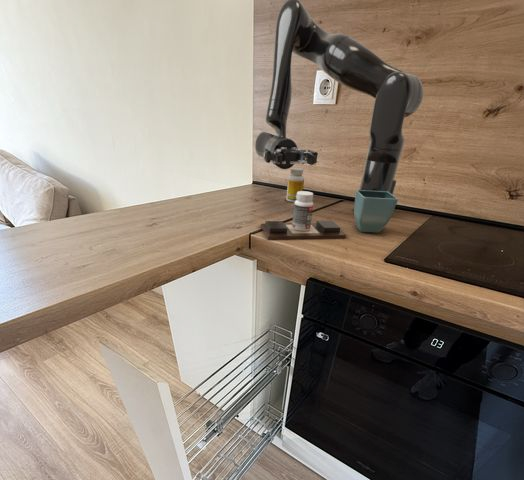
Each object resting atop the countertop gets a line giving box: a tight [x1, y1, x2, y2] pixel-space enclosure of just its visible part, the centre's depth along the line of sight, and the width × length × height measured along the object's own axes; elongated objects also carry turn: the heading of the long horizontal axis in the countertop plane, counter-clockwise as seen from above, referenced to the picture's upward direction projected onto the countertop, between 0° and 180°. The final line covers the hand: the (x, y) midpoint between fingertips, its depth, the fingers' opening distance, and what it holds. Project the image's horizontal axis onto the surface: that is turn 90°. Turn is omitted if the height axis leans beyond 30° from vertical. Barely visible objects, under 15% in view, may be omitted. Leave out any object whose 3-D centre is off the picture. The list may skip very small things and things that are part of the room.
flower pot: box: [353, 189, 399, 234], centre depth 80 cm, size 9×9×9 cm
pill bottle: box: [291, 190, 314, 231], centre depth 76 cm, size 5×5×8 cm
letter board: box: [260, 220, 347, 240], centre depth 78 cm, size 20×10×2 cm, turn 101°
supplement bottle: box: [285, 167, 305, 203], centre depth 102 cm, size 5×5×10 cm
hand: (297, 159), depth 78 cm, fingers open, 8 cm apart
